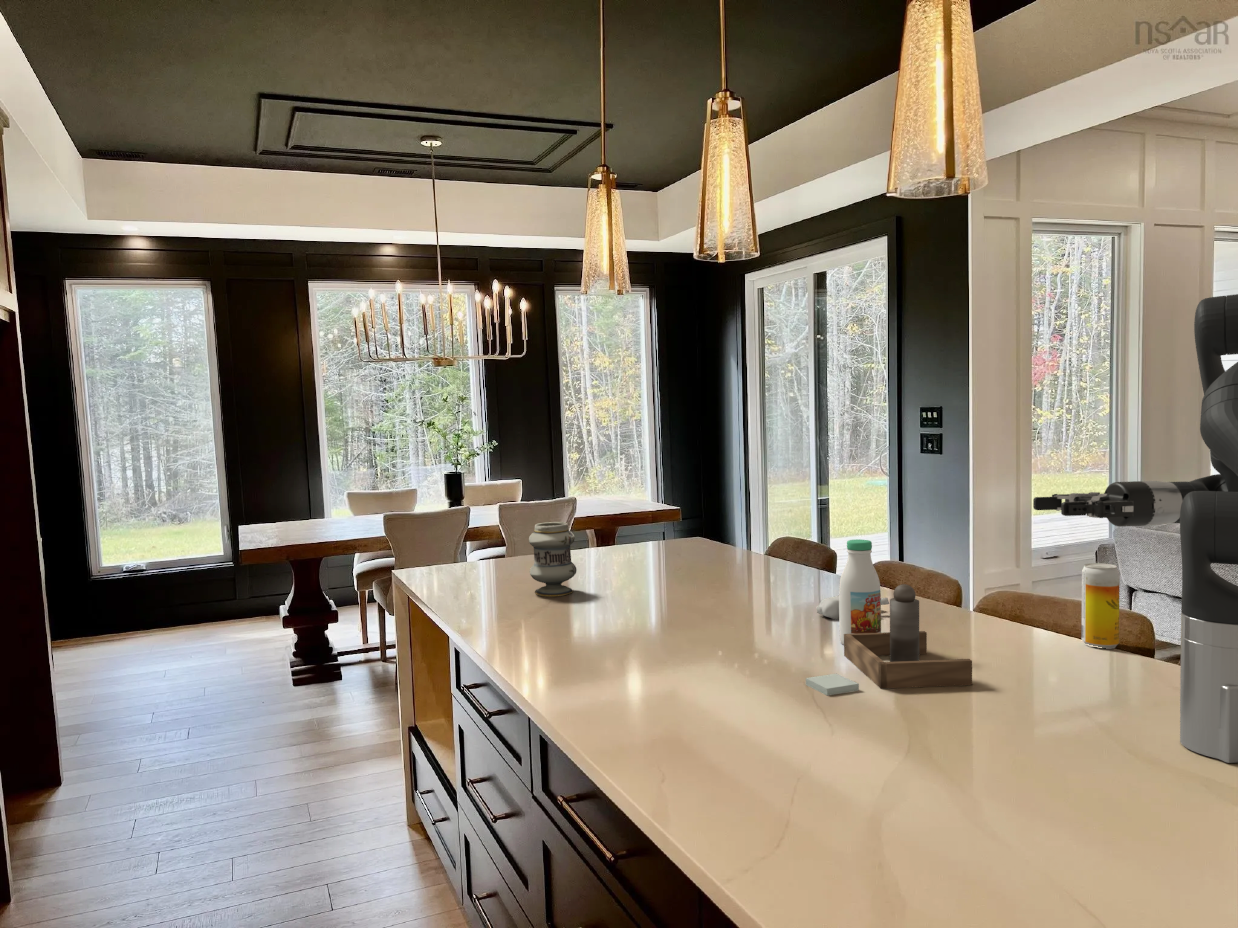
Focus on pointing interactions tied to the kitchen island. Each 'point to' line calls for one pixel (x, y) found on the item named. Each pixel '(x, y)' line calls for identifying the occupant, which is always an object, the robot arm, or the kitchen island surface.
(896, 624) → the pepper mill
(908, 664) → the box
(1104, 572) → the beer can
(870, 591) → the milk bottle
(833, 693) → the ceramic tile
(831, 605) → the bunny figurine
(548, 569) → the apothecary jar
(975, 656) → the kitchen island surface
